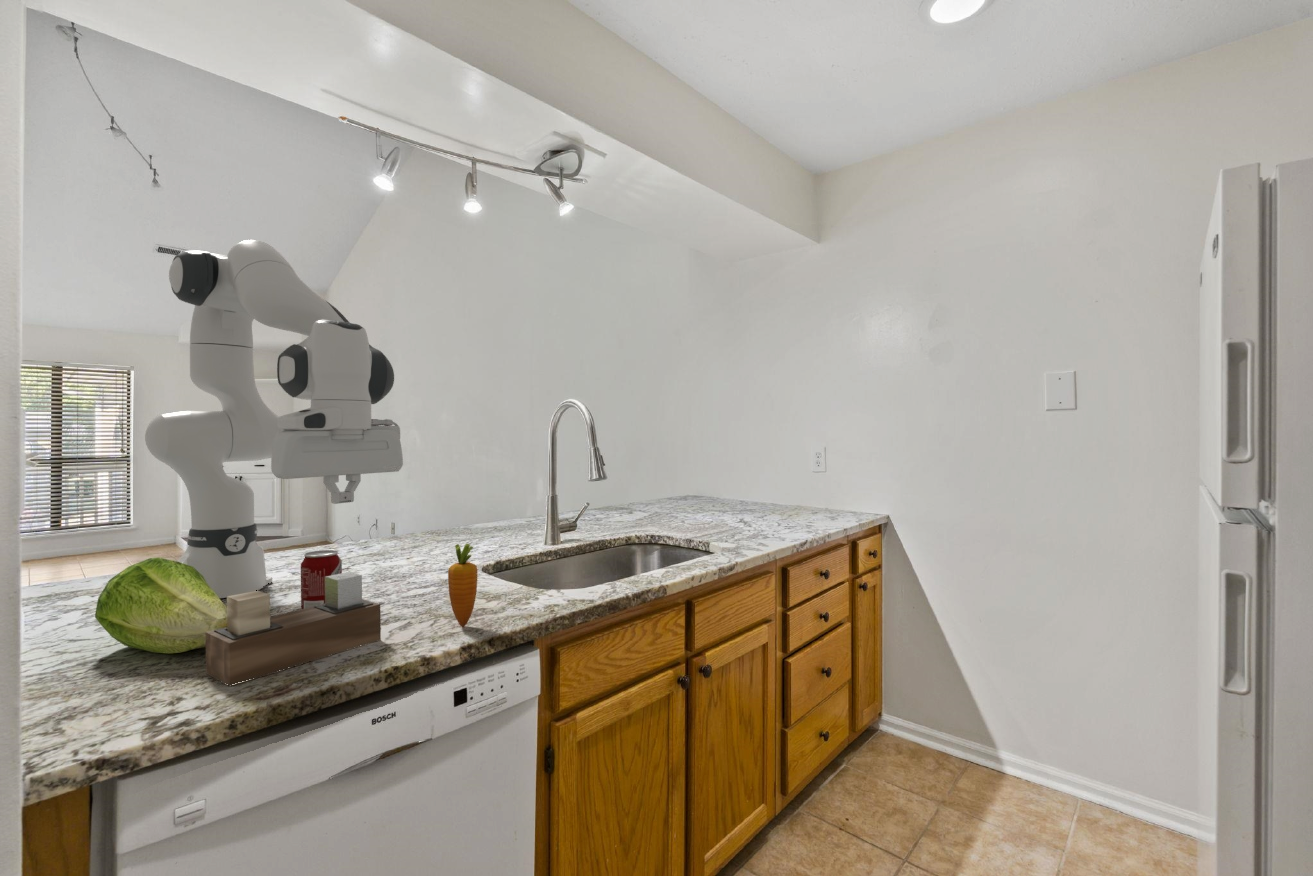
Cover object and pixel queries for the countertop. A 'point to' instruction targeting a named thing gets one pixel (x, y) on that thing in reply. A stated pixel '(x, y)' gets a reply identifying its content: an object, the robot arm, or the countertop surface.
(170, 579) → the lettuce
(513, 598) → the countertop surface
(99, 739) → the countertop surface
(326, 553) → the soda can
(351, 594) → the white block
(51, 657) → the countertop surface
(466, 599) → the carrot
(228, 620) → the maple peg
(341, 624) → the walnut block
